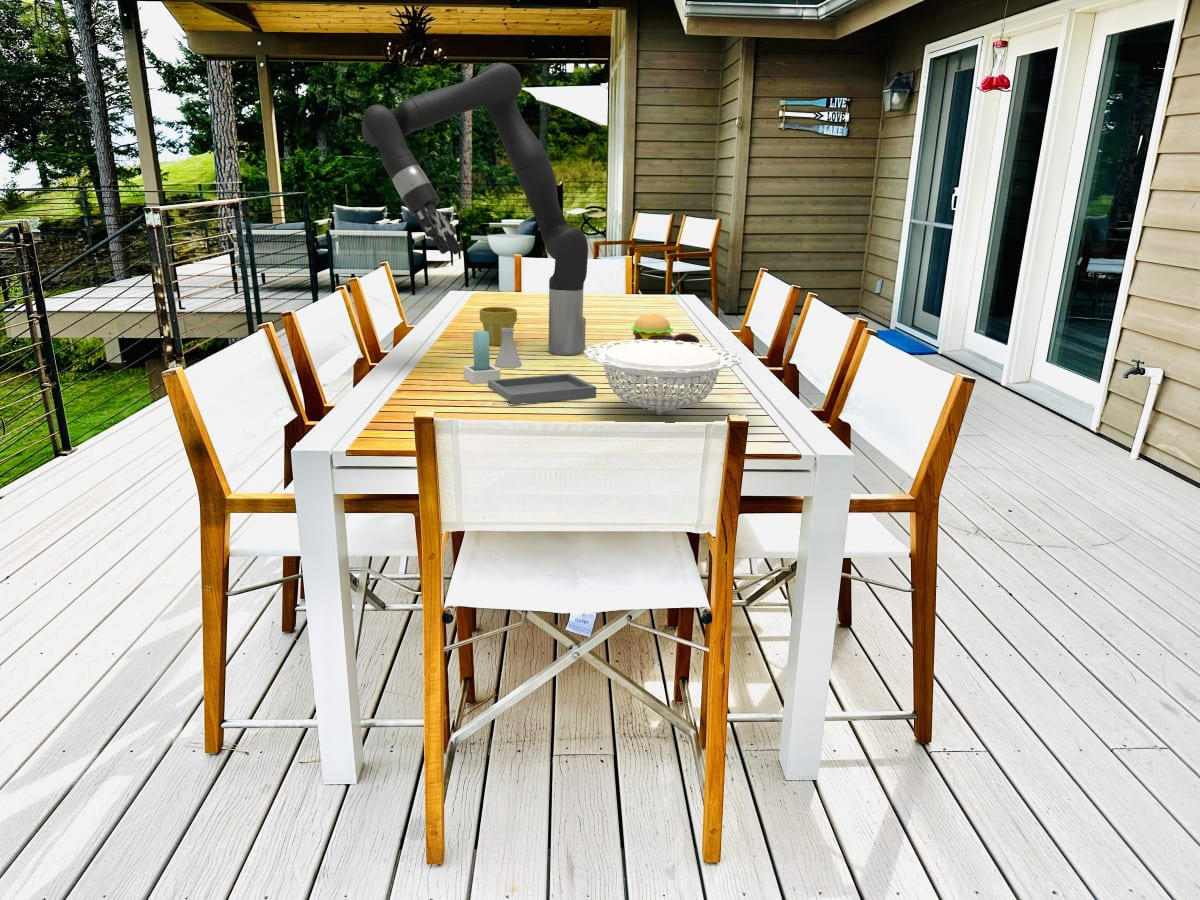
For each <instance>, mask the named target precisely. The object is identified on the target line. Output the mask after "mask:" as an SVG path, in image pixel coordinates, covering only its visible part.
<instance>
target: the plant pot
mask: <svg viewBox="0 0 1200 900" xmlns="http://www.w3.org/2000/svg"><path fill="white" fill-rule="evenodd" d="M517 319H518V309H516V308H515V307H509V306H487V307H486V306H485V307H482V308H480V309H479V321H480V322H481V324H482V327H483V331H488V332H489V344H490V345H489V346H494V345H501V343H502V331H501V329H502V328H513V329H515V323H517V321H518V320H517Z"/></svg>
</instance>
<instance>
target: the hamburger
mask: <svg viewBox="0 0 1200 900" xmlns="http://www.w3.org/2000/svg"><path fill="white" fill-rule="evenodd" d="M631 330H632V335H633V336H634V339H633V340H640V339H649V340H664V338H665V337H666V336H668V335H670V336H672V334H671V333H672V332H673V331H674V328H672V327H671V324H670V321H669V320H668V319H667V318H666V317H664V316H662V315H660V314H655V313H647V314H645V315H642V316H640V317H638V318H637V319H636V320H635V323H634V325H633V326H632V327H631ZM636 343H637V342H636ZM655 343H657V342H655Z"/></svg>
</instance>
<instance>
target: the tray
mask: <svg viewBox="0 0 1200 900" xmlns="http://www.w3.org/2000/svg"><path fill="white" fill-rule="evenodd" d="M487 388H488V389H490V390H491V391H494V392H495V393H496V394H497V395H499V396H501V397H502V398H504V399H505V401H504V402H505V403H506V402H507V403H506V404H508V403H509V404H521V403H532V404H538V403H537V402H542V403H551V402H550V401H553V402H561V401H571V400H579V399H581V400H582V399H592V398H597V386H595V385H593V384H591V383H589V382H587V381H585V380H583V379H581V378H580V377H577V376H576V375H573V374H571V373H559V374H558V373H557V374H547V375H537V376H535V375H534V376H533V375H532V376H524V377H521V376H520V377H511V378H500V379H496V380H488V383H487ZM509 404H508V405H509Z"/></svg>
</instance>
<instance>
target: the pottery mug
mask: <svg viewBox="0 0 1200 900" xmlns="http://www.w3.org/2000/svg"><path fill="white" fill-rule="evenodd" d="M664 340H672V341H683V342H695V343H700V340H699V338H698V336H696V335H694V334H691V333H688V332H687V333H686V332H682V333H678V334H676V335H674V336H673V335H671V336H670V335H668V336H666V337H665V338H664ZM664 342H665V341H664ZM695 345H697V344H695Z"/></svg>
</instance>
